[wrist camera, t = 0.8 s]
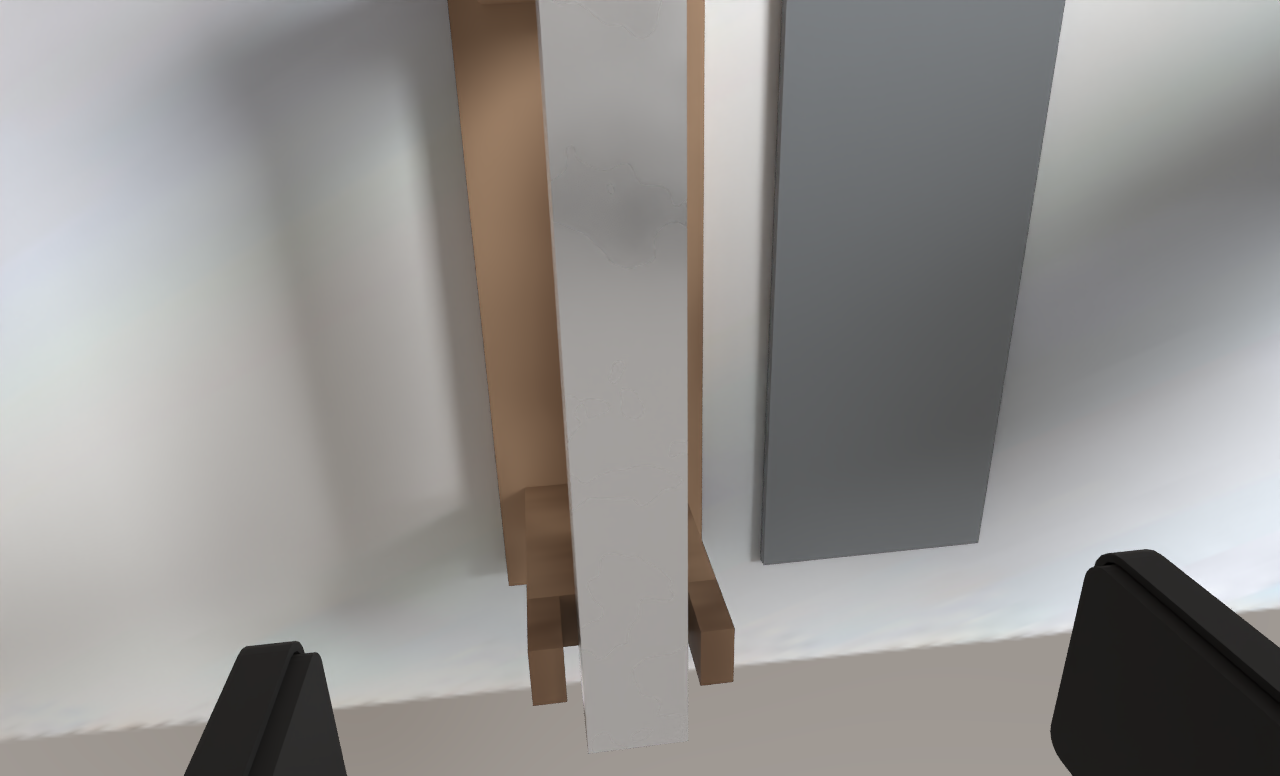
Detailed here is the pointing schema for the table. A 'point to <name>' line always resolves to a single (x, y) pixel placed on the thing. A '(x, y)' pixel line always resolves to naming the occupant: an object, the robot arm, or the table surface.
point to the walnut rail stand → (528, 338)
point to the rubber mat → (896, 264)
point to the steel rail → (623, 349)
